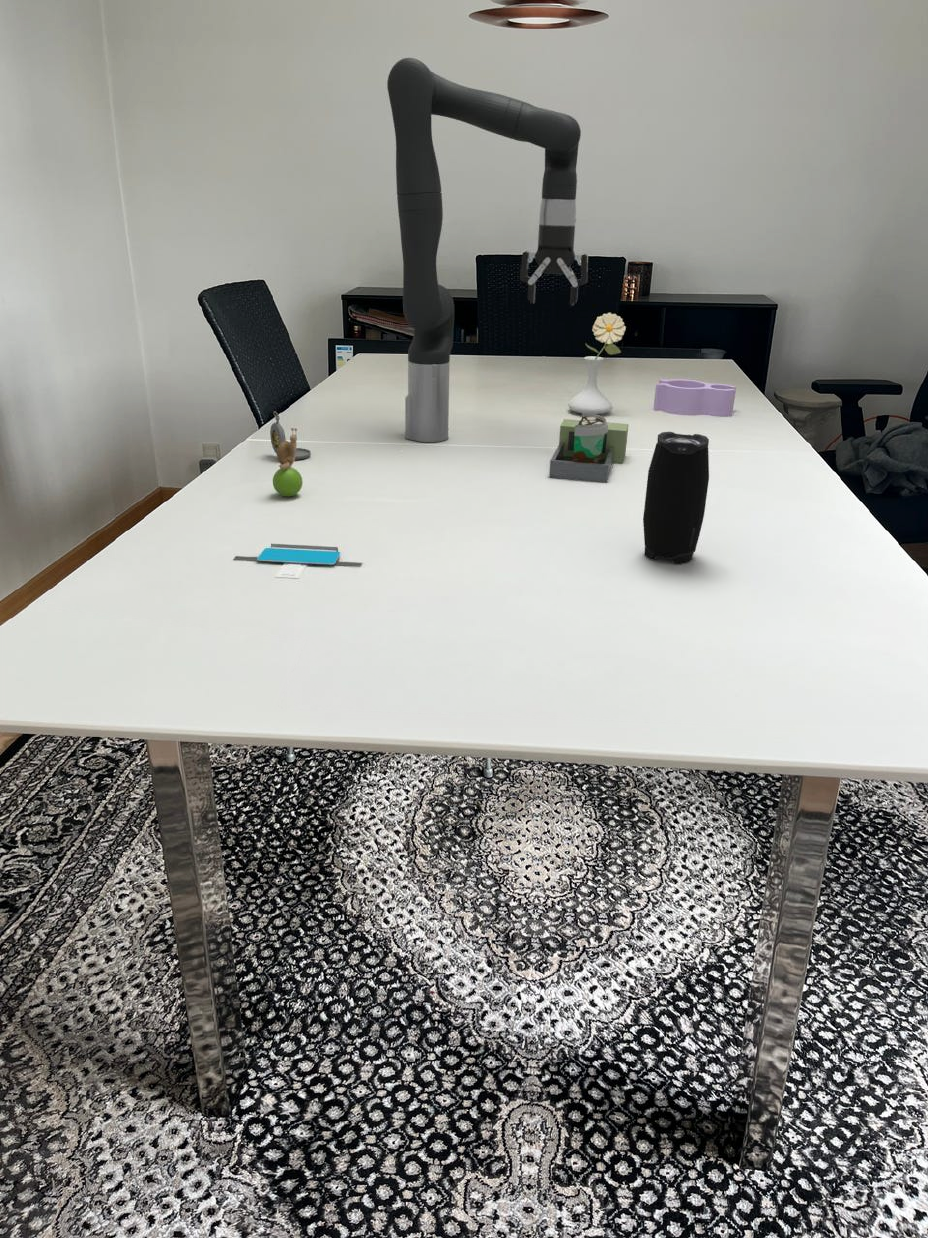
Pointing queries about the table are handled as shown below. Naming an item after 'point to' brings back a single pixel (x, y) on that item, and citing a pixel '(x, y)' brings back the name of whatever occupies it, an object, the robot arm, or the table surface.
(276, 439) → the pocket watch
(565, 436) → the pale green rectangular block
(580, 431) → the food container
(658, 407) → the purple double cup holder
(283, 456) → the snail figurine
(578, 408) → the flower in vase
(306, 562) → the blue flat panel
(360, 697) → the table surface
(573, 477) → the gray open tray
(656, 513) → the portable speaker
